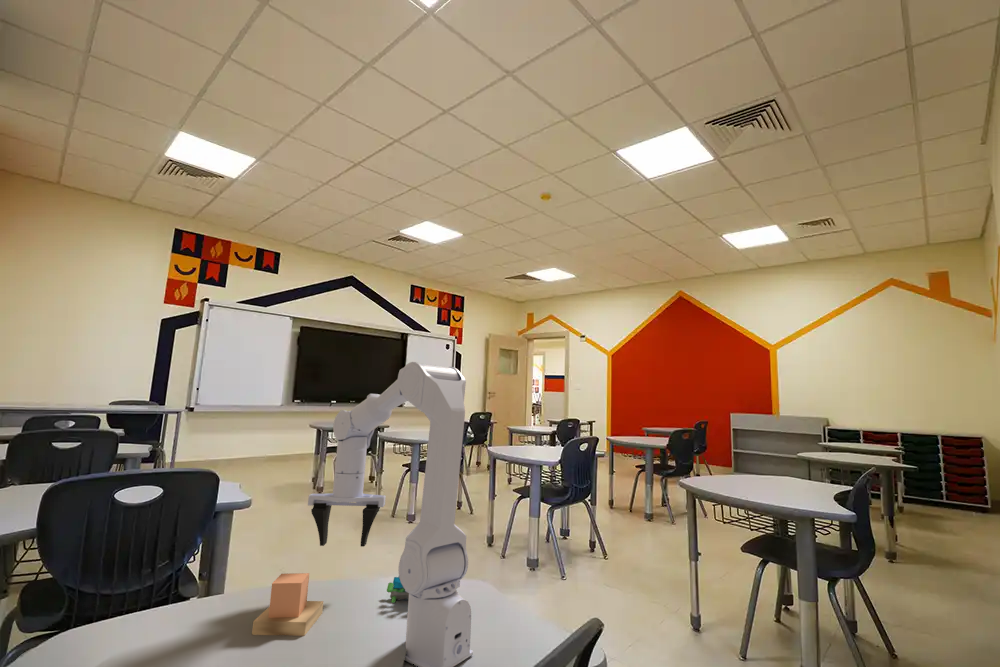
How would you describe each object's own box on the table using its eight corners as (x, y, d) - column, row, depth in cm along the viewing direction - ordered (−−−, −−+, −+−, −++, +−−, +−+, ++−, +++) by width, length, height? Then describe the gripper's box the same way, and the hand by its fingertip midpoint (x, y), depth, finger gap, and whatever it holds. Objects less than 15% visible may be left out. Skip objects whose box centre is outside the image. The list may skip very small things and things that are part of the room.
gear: (452, 592, 88) (438, 565, 83) (448, 626, 84) (433, 599, 78) (398, 595, 90) (381, 568, 85) (391, 628, 85) (372, 601, 80)
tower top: (322, 613, 78) (323, 601, 79) (304, 636, 70) (306, 622, 71) (274, 613, 78) (276, 600, 78) (251, 635, 70) (253, 621, 70)
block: (306, 605, 77) (309, 573, 78) (298, 617, 72) (301, 582, 73) (278, 605, 76) (281, 573, 77) (268, 617, 72) (272, 583, 73)
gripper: (390, 470, 96) (384, 539, 93) (319, 468, 95) (312, 538, 92) (384, 475, 89) (378, 550, 86) (307, 473, 88) (299, 548, 85)
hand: (343, 544), depth 89 cm, fingers open, 7 cm apart
